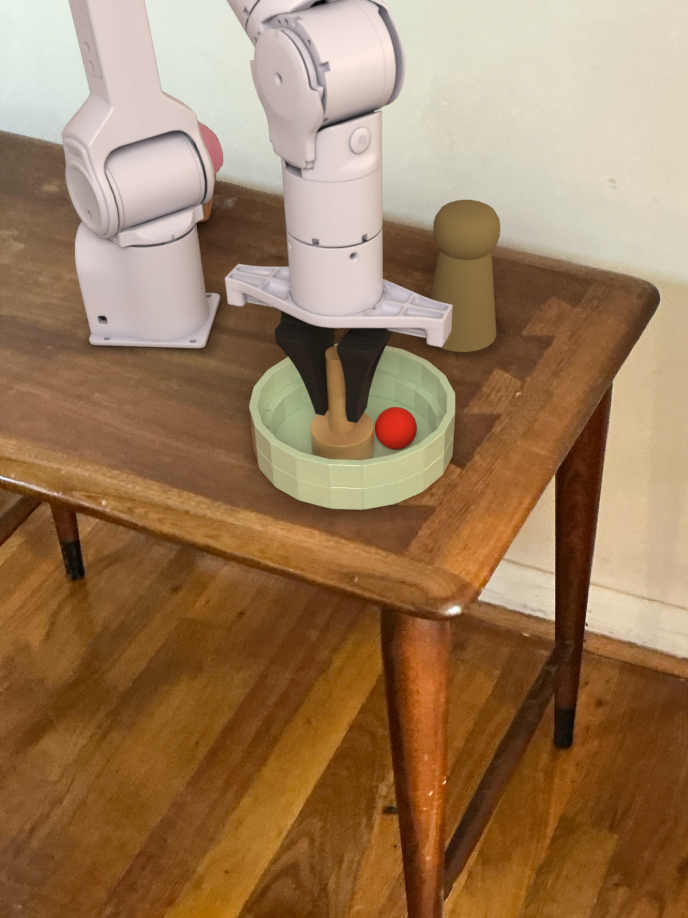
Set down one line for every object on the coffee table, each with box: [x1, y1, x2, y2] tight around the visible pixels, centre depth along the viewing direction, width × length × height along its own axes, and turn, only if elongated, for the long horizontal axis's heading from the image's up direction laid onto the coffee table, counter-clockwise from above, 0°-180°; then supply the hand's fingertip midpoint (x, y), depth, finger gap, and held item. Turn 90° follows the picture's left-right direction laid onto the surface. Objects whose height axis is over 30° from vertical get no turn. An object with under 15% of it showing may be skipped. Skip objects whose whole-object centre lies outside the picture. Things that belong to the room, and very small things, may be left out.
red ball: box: [375, 407, 417, 449], centre depth 73 cm, size 3×3×3 cm
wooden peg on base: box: [310, 346, 374, 460], centre depth 70 cm, size 4×4×8 cm
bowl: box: [248, 342, 456, 511], centre depth 73 cm, size 14×14×4 cm
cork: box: [429, 199, 501, 353], centre depth 82 cm, size 6×6×11 cm
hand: (341, 410), depth 70 cm, fingers closed on wooden peg on base, 2 cm apart
